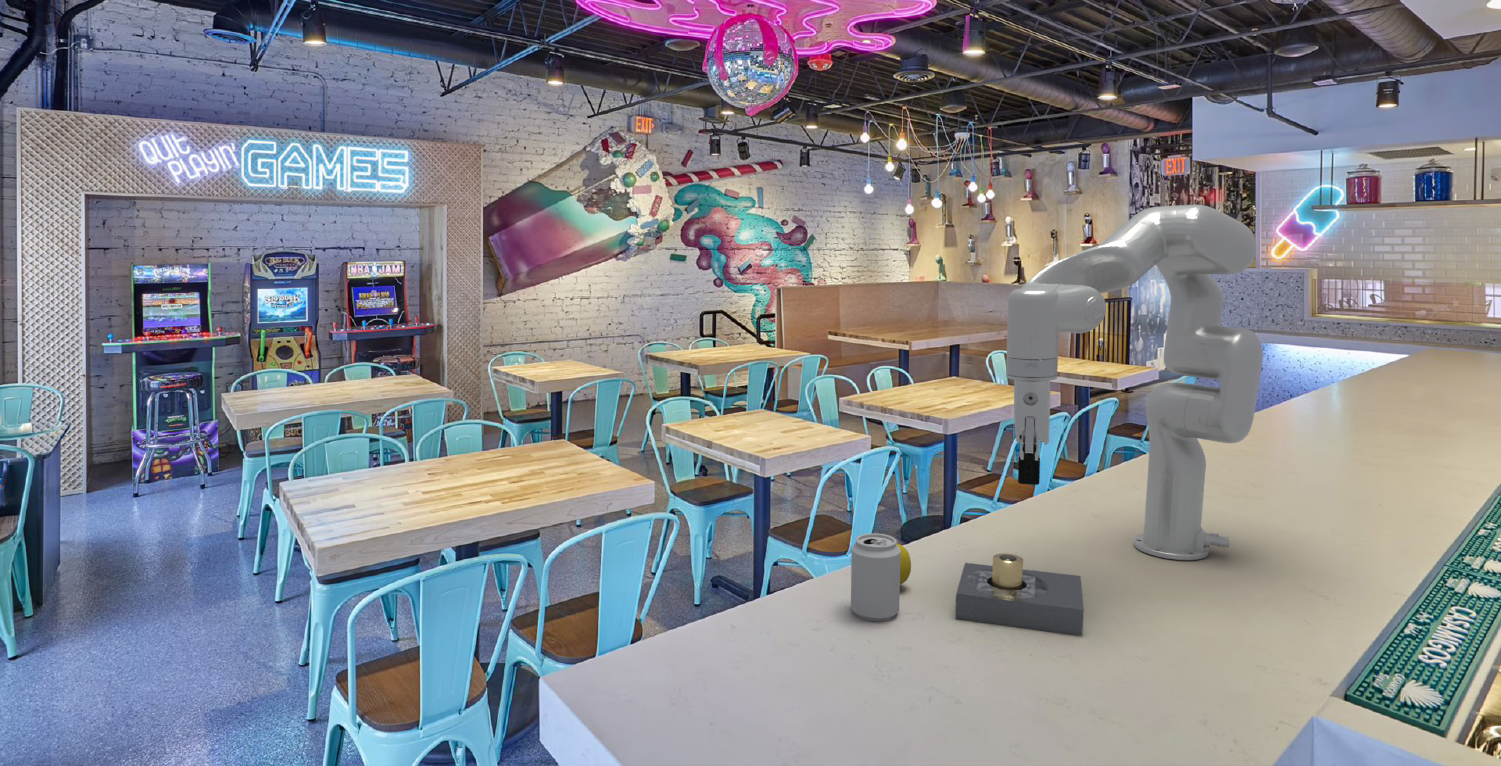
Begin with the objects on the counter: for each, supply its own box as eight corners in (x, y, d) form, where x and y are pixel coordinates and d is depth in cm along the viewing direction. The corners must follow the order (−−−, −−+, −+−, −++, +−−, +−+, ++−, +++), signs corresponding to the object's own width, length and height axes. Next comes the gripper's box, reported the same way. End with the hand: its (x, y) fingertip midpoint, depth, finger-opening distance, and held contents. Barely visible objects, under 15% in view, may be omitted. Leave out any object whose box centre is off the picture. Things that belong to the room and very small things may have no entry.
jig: (1079, 599, 135) (1080, 575, 135) (1082, 635, 122) (1083, 609, 122) (964, 585, 141) (965, 562, 141) (955, 618, 128) (956, 593, 128)
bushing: (1021, 603, 134) (1023, 554, 133) (1020, 614, 130) (1022, 564, 129) (991, 599, 135) (994, 551, 134) (990, 610, 131) (992, 560, 130)
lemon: (873, 582, 143) (874, 536, 142) (905, 581, 143) (906, 536, 142) (881, 595, 137) (882, 548, 136) (914, 594, 138) (915, 547, 137)
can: (864, 599, 136) (865, 527, 134) (907, 610, 131) (909, 536, 130) (841, 615, 129) (842, 540, 128) (886, 627, 125) (887, 550, 123)
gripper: (1058, 376, 122) (1054, 498, 125) (1056, 362, 136) (1053, 472, 139) (1004, 375, 125) (1001, 494, 128) (1008, 361, 139) (1006, 469, 142)
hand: (1028, 482), depth 133 cm, fingers closed
